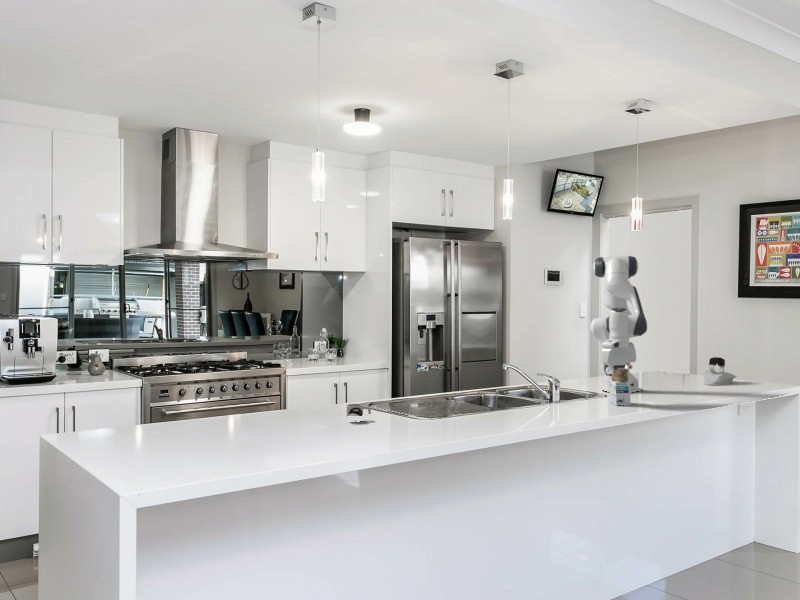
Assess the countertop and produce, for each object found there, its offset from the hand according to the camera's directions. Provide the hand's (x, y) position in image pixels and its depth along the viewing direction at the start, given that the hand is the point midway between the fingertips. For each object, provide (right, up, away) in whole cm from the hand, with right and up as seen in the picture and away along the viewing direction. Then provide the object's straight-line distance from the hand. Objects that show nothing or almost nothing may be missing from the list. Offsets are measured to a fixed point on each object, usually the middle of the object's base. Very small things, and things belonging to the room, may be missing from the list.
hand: (619, 373), depth 319 cm
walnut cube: (0, -4, 0) cm, 4 cm away
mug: (-118, -16, -38) cm, 125 cm away
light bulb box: (0, -15, 0) cm, 15 cm away
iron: (+80, -14, +74) cm, 110 cm away
